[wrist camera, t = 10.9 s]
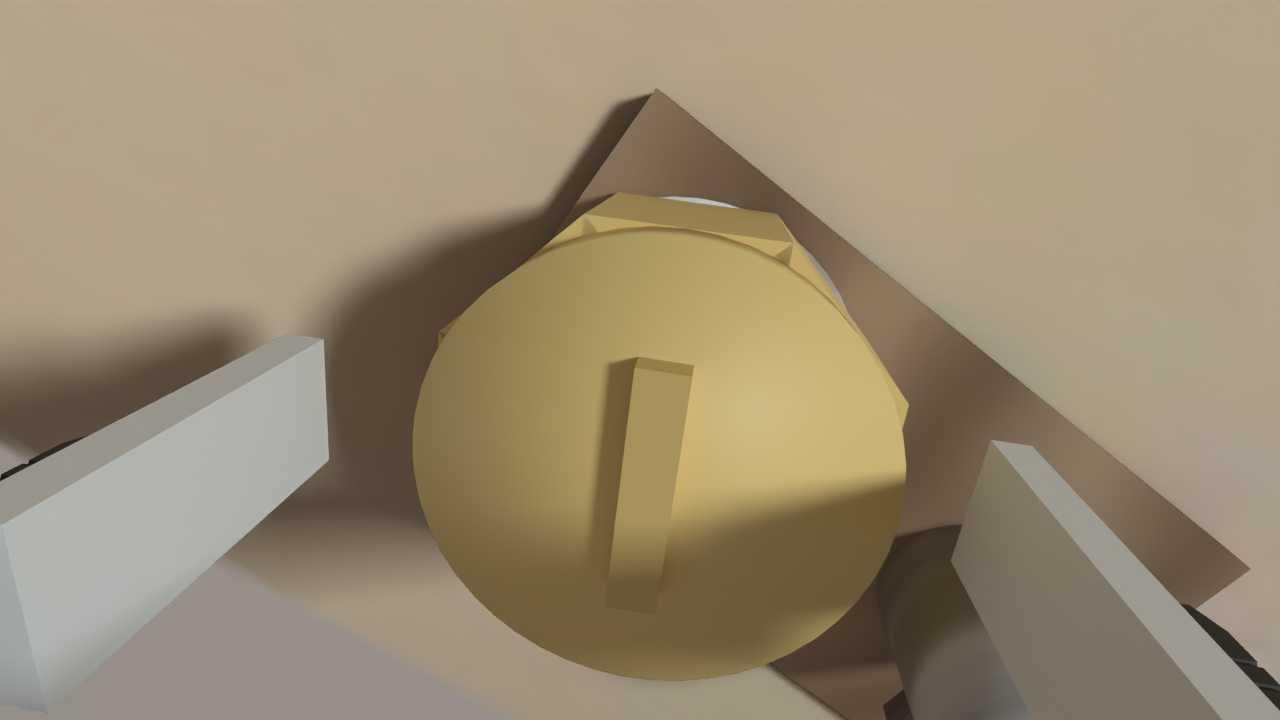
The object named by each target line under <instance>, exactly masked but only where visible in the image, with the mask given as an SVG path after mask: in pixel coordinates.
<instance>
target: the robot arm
mask: <svg viewBox="0 0 1280 720" xmlns="http://www.w3.org/2000/svg"><path fill="white" fill-rule="evenodd" d="M328 460H329V448H328V425H327V403H326V381H325V359H324V339H321V338H315V337H308V336H301V335H295V334H288V333H287V334H285V335H283V336H281V337H279V338H277V339H275V340H273V341H271V342H269V343H267V344H265V345H263V346H261V347H259V348H258V349H256V350H254V351H252V352H250V353H248V354H246V355H244V356H242V357H240V358H238V359H236V360H234V361H232V362H230V363H228V364H227V365H225V366H223V367H221V368H219V369H217V370H215V371H213V372H211V373H209V374H207V375H205V376H203V377H201V378H199V379H197V380H196V381H194V382H192V383H190V384H188V385H186V386H184V387H182V388H180V389H178V390H176V391H174V392H172V393H170V394H168V395H166V396H165V397H163V398H161V399H159V400H157V401H155V402H153V403H151V404H149V405H147V406H145V407H143V408H141V409H139V410H137V411H135V412H134V413H132V414H130V415H128V416H126V417H124V418H122V419H120V420H118V421H116V422H114V423H112V424H110V425H108V426H106V427H104V428H103V429H101V430H99V431H97V432H95V433H93V434H91V435H88V436H85V437H81V438H78V439H75V440H72V441H68V442H65V443H62V444H60V445H58V446H56V447H54V448H52V449H50V450H48V451H47V452H45V453H43V454H41V455H39V456H37V457H35V458H33V459H31V460H29V463H28V464H21V465H19V466H17V467H15V468H13V469H11V470H9V471H7V472H5V473H3V474H1V478H0V704H3V705H8V706H14V707H19V708H24V709H29V710H34V711H40V712H45V713H48V712H49V711H50V710H51V709H52V708H53V707H54V706H55V705H56V704H58V703H59V702H60V701H61V700H62V699H63V698H64V697H65V696H67V695H68V693H70V692H71V691H72V690H73V689H74V688H75V687H77V686H78V685H79V684H80V683H81V682H82V681H83V680H84V679H85V678H86V677H88V676H89V675H90V674H91V673H92V672H93V671H94V670H95V669H97V668H98V667H99V666H100V665H101V664H102V663H103V662H104V661H106V659H108V658H109V657H110V656H111V655H112V654H113V653H114V652H116V651H117V650H118V649H119V648H120V647H121V646H122V645H123V644H124V643H126V642H127V641H128V640H129V639H130V638H131V637H132V636H133V635H135V633H137V632H138V631H139V630H140V629H141V628H142V627H143V626H145V625H146V624H147V623H148V622H149V621H150V620H151V619H152V618H153V617H155V616H156V615H157V614H158V613H159V612H160V611H161V610H162V609H164V608H165V607H166V606H167V605H168V604H169V603H170V602H171V601H172V600H174V599H175V598H176V597H177V596H178V595H179V594H180V593H181V592H182V591H184V590H185V589H186V588H187V587H188V586H189V585H190V584H191V583H192V582H194V581H195V580H196V579H197V578H198V577H199V576H200V575H201V574H202V573H204V572H205V571H206V570H207V569H208V568H209V567H210V566H211V565H213V564H214V563H215V562H216V561H217V560H218V559H219V558H220V557H221V556H223V555H224V554H225V553H226V552H227V551H228V550H229V549H230V548H231V547H233V546H234V545H235V544H236V543H237V542H238V541H239V540H240V539H242V538H243V537H244V536H245V535H246V534H247V533H248V532H249V531H250V530H252V529H253V528H254V527H255V526H256V525H257V524H258V523H259V522H260V521H262V520H263V519H264V518H265V517H266V516H267V515H268V514H269V513H271V512H272V511H273V510H274V509H275V508H276V507H277V506H278V505H279V504H281V503H282V502H283V501H284V500H285V499H286V498H287V497H288V496H289V495H291V494H292V493H293V492H294V491H295V490H296V489H297V488H298V487H299V486H301V485H302V484H303V483H304V482H305V481H306V480H307V479H308V478H310V477H311V476H312V475H313V474H314V473H315V472H316V471H317V470H318V469H320V468H321V467H322V466H323V465H324V464H325V463H326V462H327V461H328ZM951 562H952V564H953V566H954V568H955V570H956V572H957V574H958V576H959V578H960V580H961V581H962V583H963V585H964V587H965V589H966V591H967V593H968V595H969V597H970V599H971V601H972V603H973V605H974V607H975V609H976V611H977V613H978V614H979V616H980V618H981V620H982V622H983V624H984V626H985V628H986V630H987V632H988V634H989V636H990V638H991V640H992V642H993V644H994V645H995V647H996V649H997V651H998V653H999V655H1000V657H1001V659H1002V661H1003V663H1004V665H1005V667H1006V669H1007V671H1008V673H1009V675H1010V677H1011V678H1012V680H1013V682H1014V684H1015V686H1016V688H1017V690H1018V692H1019V694H1020V696H1021V698H1022V700H1023V702H1024V704H1025V706H1026V708H1027V709H1028V711H1029V713H1030V715H1031V717H1032V719H1033V720H1280V685H1279V684H1278V683H1277V682H1276V681H1275V680H1274V679H1273V678H1272V677H1271V676H1270V675H1269V673H1268V672H1267V671H1266V670H1265V669H1264V668H1261V667H1257V661H1256V660H1255V659H1254V658H1253V657H1252V656H1251V655H1250V654H1249V653H1248V652H1247V651H1246V650H1245V649H1244V648H1243V647H1242V646H1241V645H1240V644H1239V643H1238V642H1237V641H1236V640H1235V639H1234V638H1233V637H1232V636H1231V635H1230V634H1229V633H1228V632H1227V631H1226V630H1224V629H1223V628H1221V627H1220V626H1219V625H1217V624H1216V623H1214V622H1213V621H1211V620H1210V619H1209V618H1207V617H1206V616H1204V615H1203V614H1201V613H1200V612H1199V611H1197V610H1196V609H1194V608H1193V607H1191V606H1190V605H1187V604H1181V603H1179V602H1178V601H1177V600H1176V599H1175V598H1174V597H1173V596H1172V595H1171V594H1170V593H1169V592H1168V591H1167V590H1166V589H1165V587H1164V586H1163V585H1162V584H1161V583H1160V582H1159V581H1158V580H1157V579H1156V578H1155V577H1154V576H1153V575H1152V574H1151V573H1150V571H1149V570H1148V569H1147V568H1146V567H1145V566H1144V565H1143V564H1142V563H1141V562H1140V561H1139V560H1138V559H1137V558H1136V556H1135V555H1134V554H1133V553H1132V552H1131V551H1130V550H1129V549H1128V548H1127V547H1126V546H1125V545H1124V544H1123V543H1122V541H1121V540H1120V539H1119V538H1118V537H1117V536H1116V535H1115V534H1114V533H1113V532H1112V531H1111V530H1110V529H1109V528H1108V527H1107V525H1106V524H1105V523H1104V522H1103V521H1102V520H1101V519H1100V518H1099V517H1098V516H1097V515H1096V514H1095V513H1094V512H1093V510H1092V509H1091V508H1090V507H1089V506H1088V505H1087V504H1086V503H1085V502H1084V501H1083V500H1082V499H1081V498H1080V497H1079V495H1078V494H1077V493H1076V492H1075V491H1074V490H1073V489H1072V488H1071V487H1070V486H1069V485H1068V484H1067V483H1066V482H1065V481H1064V479H1063V478H1062V477H1061V476H1060V475H1059V474H1058V473H1057V472H1056V471H1055V470H1054V469H1053V468H1052V467H1051V466H1050V464H1049V463H1048V462H1047V461H1046V460H1045V459H1044V458H1043V457H1042V456H1041V455H1040V454H1039V453H1038V452H1037V451H1036V449H1035V448H1034V447H1033V446H1029V445H1022V444H1016V443H1009V442H1002V441H996V440H991V441H990V444H989V447H988V450H987V453H986V456H985V459H984V462H983V465H982V468H981V471H980V474H979V477H978V480H977V483H976V486H975V489H974V492H973V495H972V498H971V501H970V504H969V507H968V510H967V513H966V516H965V519H964V522H963V525H962V528H961V531H960V534H959V537H958V540H957V543H956V546H955V549H954V552H953V555H952V558H951Z"/></svg>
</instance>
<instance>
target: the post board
mask: <svg viewBox="0 0 1280 720" xmlns="http://www.w3.org/2000/svg"><path fill="white" fill-rule="evenodd" d="M618 192H622V193H629V194H636V195H644V196H651V197H658V198H666V199H673V200H680V201H688V202H695V203H702V204H710V205H717V206H724V207H732V208H739V209H746V210H754V211H761V212H768V213H776V214H778V215H779V217H780V218H781V220H782V221H783V222H784V224H785V225H786V227H787V228H788V229H789V231H790V232H791V234H792V235H793V236H794V238H795V239H796V241H797V242H798V243H799V245H800V246H801V248H802V249H803V250H804V252H805V253H806V255H807V256H808V257H809V259H810V260H811V262H812V263H813V264H814V266H815V267H816V269H817V270H818V271H819V273H820V274H821V276H822V277H823V278H824V280H825V281H826V283H827V284H828V285H829V287H830V288H831V290H832V291H833V292H834V294H835V295H836V297H837V298H838V299H839V301H840V302H841V304H842V305H843V306H844V308H845V309H846V311H847V312H848V314H849V315H850V316H851V318H852V319H853V321H854V322H855V323H856V325H857V326H858V328H859V329H860V330H861V332H862V333H863V335H864V336H865V337H866V339H867V340H868V342H869V343H870V345H871V346H872V348H873V349H874V351H875V353H876V354H877V356H878V357H879V359H880V360H881V362H882V363H883V365H884V367H885V368H886V370H887V371H888V373H889V374H890V376H891V377H892V379H893V380H894V382H895V384H896V385H897V387H898V388H899V390H900V391H901V393H902V394H903V396H904V398H905V399H906V401H907V402H908V404H909V407H908V411H907V414H906V418H905V422H904V425H903V429H902V433H903V438H904V448H905V458H906V482H905V498H904V502H903V507H902V512H901V517H900V522H899V526H898V529H897V532H896V534H895V537H894V540H893V542H892V545H891V548H890V551H889V553H888V555H887V557H886V559H885V560H884V562H883V564H882V566H881V568H880V570H879V571H878V573H877V575H876V577H875V579H874V580H873V581H872V583H871V584H870V585H869V587H868V588H867V589H866V591H865V592H864V593H863V595H862V596H861V597H860V599H859V600H858V601H857V602H856V603H855V604H854V605H853V606H852V607H851V608H850V609H849V610H848V611H847V612H846V613H845V614H844V615H843V616H842V617H841V618H840V619H839V620H838V621H837V622H836V623H835V624H834V625H832V626H831V627H830V628H828V629H827V630H826V631H825V632H823V633H822V634H821V635H819V636H818V637H817V638H816V639H814V640H812V641H811V642H809V643H807V644H806V645H804V646H802V647H800V648H799V649H797V650H795V651H794V652H792V653H790V654H788V655H786V656H784V657H781V658H779V659H777V660H774V661H772V662H770V664H771V665H773V666H774V667H776V668H777V669H778V670H780V671H781V672H783V673H784V674H785V675H787V676H788V677H790V678H791V679H792V680H794V681H795V682H797V683H798V684H799V685H801V686H802V687H804V688H805V689H806V690H808V691H809V692H811V693H812V694H813V695H815V696H816V697H818V698H819V699H820V700H822V701H823V702H825V703H826V704H827V705H829V706H830V707H832V708H833V709H834V710H836V711H837V712H839V713H840V714H841V715H843V716H844V717H846V718H847V719H848V720H1033V719H1032V717H1031V715H1030V713H1029V711H1028V709H1027V708H1026V706H1025V704H1024V702H1023V700H1022V698H1021V696H1020V694H1019V692H1018V690H1017V688H1016V686H1015V684H1014V682H1013V680H1012V678H1011V677H1010V675H1009V673H1008V671H1007V669H1006V667H1005V665H1004V663H1003V661H1002V659H1001V657H1000V655H999V653H998V651H997V649H996V647H995V645H994V644H993V642H992V640H991V638H990V636H989V634H988V632H987V630H986V628H985V626H984V624H983V622H982V620H981V618H980V616H979V614H978V613H977V611H976V609H975V607H974V605H973V603H972V601H971V599H970V597H969V595H968V593H967V591H966V589H965V587H964V585H963V583H962V581H961V580H960V578H959V576H958V574H957V572H956V570H955V568H954V566H953V564H952V562H951V558H952V555H953V552H954V549H955V546H956V543H957V540H958V537H959V534H960V531H961V528H962V525H963V522H964V519H965V516H966V513H967V510H968V507H969V504H970V501H971V498H972V495H973V492H974V489H975V486H976V483H977V480H978V477H979V474H980V471H981V468H982V465H983V462H984V459H985V456H986V453H987V450H988V447H989V444H990V441H991V440H996V441H1002V442H1009V443H1016V444H1022V445H1029V446H1033V447H1034V448H1035V449H1036V451H1037V452H1038V453H1039V454H1040V455H1041V456H1042V457H1043V458H1044V459H1045V460H1046V461H1047V462H1048V463H1049V464H1050V466H1051V467H1052V468H1053V469H1054V470H1055V471H1056V472H1057V473H1058V474H1059V475H1060V476H1061V477H1062V478H1063V479H1064V481H1065V482H1066V483H1067V484H1068V485H1069V486H1070V487H1071V488H1072V489H1073V490H1074V491H1075V492H1076V493H1077V494H1078V495H1079V497H1080V498H1081V499H1082V500H1083V501H1084V502H1085V503H1086V504H1087V505H1088V506H1089V507H1090V508H1091V509H1092V510H1093V512H1094V513H1095V514H1096V515H1097V516H1098V517H1099V518H1100V519H1101V520H1102V521H1103V522H1104V523H1105V524H1106V525H1107V527H1108V528H1109V529H1110V530H1111V531H1112V532H1113V533H1114V534H1115V535H1116V536H1117V537H1118V538H1119V539H1120V540H1121V541H1122V543H1123V544H1124V545H1125V546H1126V547H1127V548H1128V549H1129V550H1130V551H1131V552H1132V553H1133V554H1134V555H1135V556H1136V558H1137V559H1138V560H1139V561H1140V562H1141V563H1142V564H1143V565H1144V566H1145V567H1146V568H1147V569H1148V570H1149V571H1150V573H1151V574H1152V575H1153V576H1154V577H1155V578H1156V579H1157V580H1158V581H1159V582H1160V583H1161V584H1162V585H1163V586H1164V587H1165V589H1166V590H1167V591H1168V592H1169V593H1170V594H1171V595H1172V596H1173V597H1174V598H1175V599H1176V600H1177V601H1178V602H1179V603H1181V604H1187V605H1190V606H1191V607H1193V608H1194V609H1196V608H1197V607H1199V606H1200V605H1201V604H1203V603H1204V602H1206V601H1207V600H1208V599H1210V598H1211V597H1213V596H1214V595H1215V594H1217V593H1218V592H1220V591H1221V590H1222V589H1224V588H1225V587H1227V586H1228V585H1229V584H1231V583H1232V582H1234V581H1235V580H1236V579H1238V578H1239V577H1241V576H1242V575H1243V574H1245V573H1246V572H1247V571H1249V570H1250V568H1249V567H1248V566H1247V565H1245V564H1244V563H1243V562H1242V561H1241V560H1240V559H1238V558H1237V557H1236V556H1235V555H1234V554H1232V553H1231V552H1230V551H1229V550H1228V549H1227V548H1225V547H1224V546H1223V545H1222V544H1220V543H1219V542H1218V541H1217V540H1216V539H1214V538H1213V537H1212V536H1211V535H1209V534H1208V533H1207V532H1206V531H1204V530H1203V529H1202V528H1201V527H1199V526H1198V525H1197V524H1196V523H1195V522H1193V521H1192V520H1191V519H1190V518H1188V517H1187V516H1186V515H1185V514H1183V513H1182V512H1181V511H1180V510H1178V509H1177V508H1176V507H1175V506H1173V505H1172V504H1171V503H1170V502H1169V501H1167V500H1166V499H1165V498H1164V497H1162V496H1161V495H1160V494H1159V493H1157V492H1156V491H1155V490H1154V489H1152V488H1151V487H1150V486H1149V485H1148V484H1146V483H1145V482H1144V481H1143V480H1141V479H1140V478H1139V477H1138V476H1136V475H1135V474H1134V473H1133V472H1131V471H1130V470H1129V469H1128V468H1126V467H1125V466H1124V465H1123V464H1122V463H1120V462H1119V461H1118V460H1117V459H1115V458H1114V457H1113V456H1112V455H1110V454H1109V453H1108V452H1107V451H1105V450H1104V449H1103V448H1102V447H1100V446H1099V445H1098V444H1097V443H1096V442H1094V441H1093V440H1092V439H1091V438H1089V437H1088V436H1087V435H1086V434H1084V433H1083V432H1082V431H1081V430H1079V429H1078V428H1077V427H1076V426H1075V425H1073V424H1072V423H1071V422H1070V421H1068V420H1067V419H1066V418H1065V417H1063V416H1062V415H1061V414H1060V413H1058V412H1057V411H1056V410H1055V409H1053V408H1052V407H1051V406H1050V405H1049V404H1047V403H1046V402H1045V401H1044V400H1042V399H1041V398H1040V397H1039V396H1037V395H1036V394H1035V393H1034V392H1032V391H1031V390H1030V389H1029V388H1028V387H1026V386H1025V385H1024V384H1023V383H1021V382H1020V381H1019V380H1018V379H1016V378H1015V377H1014V376H1013V375H1011V374H1010V373H1009V372H1008V371H1006V370H1005V369H1004V368H1003V367H1002V366H1000V365H999V364H998V363H997V362H995V361H994V360H993V359H992V358H990V357H989V356H988V355H987V354H985V353H984V352H983V351H982V350H981V349H979V348H978V347H977V346H976V345H974V344H973V343H972V342H971V341H969V340H968V339H967V338H966V337H964V336H963V335H962V334H961V333H959V332H958V331H957V330H956V329H955V328H953V327H952V326H951V325H950V324H948V323H947V322H946V321H945V320H943V319H942V318H941V317H940V316H938V315H937V314H936V313H935V312H933V311H932V310H931V309H930V308H929V307H927V306H926V305H925V304H924V303H922V302H921V301H920V300H919V299H917V298H916V297H915V296H914V295H912V294H911V293H910V292H909V291H908V290H906V289H905V288H904V287H903V286H901V285H900V284H899V283H898V282H896V281H895V280H894V279H893V278H891V277H890V276H889V275H888V274H886V273H885V272H884V271H883V270H882V269H880V268H879V267H878V266H877V265H875V264H874V263H873V262H872V261H870V260H869V259H868V258H867V257H865V256H864V255H863V254H862V253H861V252H859V251H858V250H857V249H856V248H854V247H853V246H852V245H851V244H849V243H848V242H847V241H846V240H844V239H843V238H842V237H841V236H839V235H838V234H837V233H836V232H835V231H833V230H832V229H831V228H830V227H828V226H827V225H826V224H825V223H823V222H822V221H821V220H820V219H818V218H817V217H816V216H815V215H814V214H812V213H811V212H810V211H809V210H807V209H806V208H805V207H804V206H802V205H801V204H800V203H799V202H797V201H796V200H795V199H794V198H792V197H791V196H790V195H789V194H788V193H786V192H785V191H784V190H783V189H781V188H780V187H779V186H778V185H776V184H775V183H774V182H773V181H771V180H770V179H769V178H768V177H767V176H765V175H764V174H763V173H762V172H760V171H759V170H758V169H757V168H755V167H754V166H753V165H752V164H750V163H749V162H748V161H747V160H745V159H744V158H743V157H742V156H741V155H739V154H738V153H737V152H736V151H734V150H733V149H732V148H731V147H729V146H728V145H727V144H726V143H724V142H723V141H722V140H721V139H719V138H718V137H717V136H716V135H715V134H713V133H712V132H711V131H710V130H708V129H707V128H706V127H705V126H703V125H702V124H701V123H700V122H698V121H697V120H696V119H695V118H694V117H692V116H691V115H690V114H689V113H687V112H686V111H685V110H684V109H682V108H681V107H680V106H679V105H677V104H676V103H675V102H674V101H672V100H671V99H670V98H669V97H668V96H666V95H665V94H664V93H663V92H661V91H660V90H658V89H655V91H654V92H653V94H652V95H651V96H650V98H649V99H648V101H647V102H646V104H645V105H644V106H643V108H642V109H641V111H640V112H639V114H638V115H637V116H636V118H635V119H634V121H633V122H632V124H631V125H630V126H629V128H628V129H627V131H626V132H625V134H624V135H623V136H622V138H621V139H620V141H619V142H618V144H617V145H616V146H615V148H614V149H613V151H612V152H611V154H610V155H609V156H608V158H607V159H606V161H605V162H604V164H603V165H602V166H601V168H600V169H599V171H598V172H597V174H596V175H595V176H594V178H593V179H592V181H591V182H590V183H589V185H588V186H587V188H586V189H585V191H584V192H583V193H582V195H581V196H580V198H579V199H578V201H577V202H576V203H575V205H574V206H573V208H572V209H571V211H570V212H569V213H568V215H567V216H566V218H565V219H564V221H563V222H562V223H561V225H560V226H559V228H558V229H557V231H556V232H555V233H554V235H553V236H552V238H551V239H550V241H551V240H553V239H554V238H555V237H556V236H558V235H559V234H560V233H561V232H562V231H564V230H565V229H566V228H567V227H569V226H570V225H571V224H572V223H574V222H575V221H576V220H577V219H578V218H580V217H581V216H582V215H583V214H585V213H586V212H588V211H589V210H591V209H593V208H594V207H596V206H597V205H599V204H601V203H602V202H604V201H605V200H607V199H609V198H610V197H612V196H614V195H615V194H617V193H618ZM550 241H549V242H550ZM549 242H548V243H549ZM548 243H547V244H548Z"/></svg>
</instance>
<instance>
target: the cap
mask: <svg viewBox="0 0 1280 720" xmlns="http://www.w3.org/2000/svg"><path fill="white" fill-rule="evenodd" d="M908 407H909V404H908V402H907V401H906V399H905V398H904V396H903V394H902V393H901V391H900V390H899V388H898V387H897V385H896V384H895V382H894V380H893V379H892V377H891V376H890V374H889V373H888V371H887V370H886V368H885V367H884V365H883V363H882V362H881V360H880V359H879V357H878V356H877V354H876V353H875V351H874V349H873V348H872V346H871V345H870V343H869V342H868V340H867V339H866V337H865V336H864V335H863V333H862V332H861V330H860V329H859V328H858V326H857V325H856V323H855V322H854V321H853V319H852V318H851V316H850V315H849V314H848V312H847V311H846V309H845V308H844V306H843V305H842V304H841V302H840V301H839V299H838V298H837V297H836V295H835V294H834V292H833V291H832V290H831V288H830V287H829V285H828V284H827V283H826V281H825V280H824V278H823V277H822V276H821V274H820V273H819V271H818V270H817V269H816V267H815V266H814V264H813V263H812V262H811V260H810V259H809V257H808V256H807V255H806V253H805V252H804V250H803V249H802V248H801V246H800V245H799V243H798V242H797V241H796V239H795V238H794V236H793V235H792V234H791V232H790V231H789V229H788V228H787V227H786V225H785V224H784V222H783V221H782V220H781V218H780V217H779V215H778V214H776V213H768V212H761V211H754V210H746V209H739V208H732V207H724V206H717V205H710V204H702V203H695V202H688V201H680V200H673V199H666V198H658V197H651V196H644V195H636V194H629V193H622V192H618V193H617V194H615V195H614V196H612V197H610V198H609V199H607V200H605V201H604V202H602V203H601V204H599V205H597V206H596V207H594V208H593V209H591V210H589V211H588V212H586V213H585V214H583V215H582V216H581V217H580V218H578V219H577V220H576V221H575V222H574V223H572V224H571V225H570V226H569V227H567V228H566V229H565V230H564V231H562V232H561V233H560V234H559V235H558V236H556V237H555V238H554V239H553V240H551V241H550V242H549V243H548V244H546V245H545V246H544V247H543V248H541V249H540V250H539V251H538V252H537V253H535V254H534V255H533V256H532V257H530V258H529V259H528V260H527V261H525V262H524V263H523V264H522V265H521V266H519V267H518V268H517V269H516V270H514V271H513V272H512V273H511V274H509V275H508V276H506V277H505V278H504V279H502V280H501V281H499V282H498V283H496V284H495V285H494V286H492V287H491V288H489V289H488V290H487V291H486V292H485V293H484V294H483V295H481V296H480V297H479V298H478V299H477V300H476V301H475V302H474V303H473V304H472V305H471V306H470V307H469V308H467V309H466V310H465V311H464V312H463V313H461V314H460V315H459V316H458V317H456V318H455V319H454V320H453V321H451V322H450V323H449V324H448V325H447V326H445V327H444V328H443V329H442V330H440V331H439V332H438V350H437V352H436V353H435V355H434V357H433V359H432V360H431V363H430V365H429V368H428V371H427V373H426V376H425V378H424V381H423V383H422V386H421V389H420V393H419V398H418V402H417V407H416V411H415V415H414V427H413V439H412V450H413V467H414V475H415V480H416V485H417V490H418V495H419V500H420V503H421V506H422V509H423V512H424V514H425V517H426V520H427V523H428V526H429V528H430V530H431V532H432V534H433V536H434V538H435V540H436V542H437V544H438V546H439V549H440V551H441V552H442V554H443V555H444V557H445V558H446V560H447V561H448V563H449V564H450V566H451V567H452V569H453V571H454V572H455V574H456V575H457V576H458V577H459V579H460V580H461V581H462V582H463V583H464V585H465V586H466V587H467V588H468V589H469V591H470V592H471V593H472V594H473V595H474V596H475V597H476V598H477V599H478V600H479V601H480V602H481V603H482V604H483V605H484V606H485V607H486V608H487V609H488V610H489V611H490V612H491V613H492V614H493V615H494V616H496V617H497V618H498V619H500V620H501V621H502V622H504V623H505V624H506V625H507V626H509V627H510V628H511V629H513V630H514V631H515V632H517V633H518V634H520V635H521V636H523V637H525V638H526V639H528V640H530V641H531V642H533V643H535V644H536V645H538V646H539V647H541V648H543V649H545V650H547V651H550V652H552V653H554V654H556V655H558V656H560V657H562V658H564V659H566V660H569V661H572V662H575V663H577V664H580V665H583V666H586V667H589V668H592V669H595V670H599V671H603V672H607V673H611V674H615V675H619V676H625V677H632V678H639V679H647V680H666V681H685V680H698V679H709V678H715V677H720V676H725V675H731V674H736V673H740V672H743V671H746V670H749V669H753V668H756V667H759V666H763V665H765V664H768V663H770V662H772V661H774V660H777V659H779V658H781V657H784V656H786V655H788V654H790V653H792V652H794V651H795V650H797V649H799V648H800V647H802V646H804V645H806V644H807V643H809V642H811V641H812V640H814V639H816V638H817V637H818V636H819V635H821V634H822V633H823V632H825V631H826V630H827V629H828V628H830V627H831V626H832V625H834V624H835V623H836V622H837V621H838V620H839V619H840V618H841V617H842V616H843V615H844V614H845V613H846V612H847V611H848V610H849V609H850V608H851V607H852V606H853V605H854V604H855V603H856V602H857V601H858V600H859V599H860V597H861V596H862V595H863V593H864V592H865V591H866V589H867V588H868V587H869V585H870V584H871V583H872V581H873V580H874V579H875V577H876V575H877V573H878V571H879V570H880V568H881V566H882V564H883V562H884V560H885V559H886V557H887V555H888V553H889V551H890V548H891V545H892V542H893V540H894V537H895V534H896V532H897V529H898V526H899V522H900V517H901V512H902V507H903V502H904V498H905V482H906V458H905V448H904V438H903V433H902V429H903V425H904V422H905V418H906V414H907V411H908Z"/></svg>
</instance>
